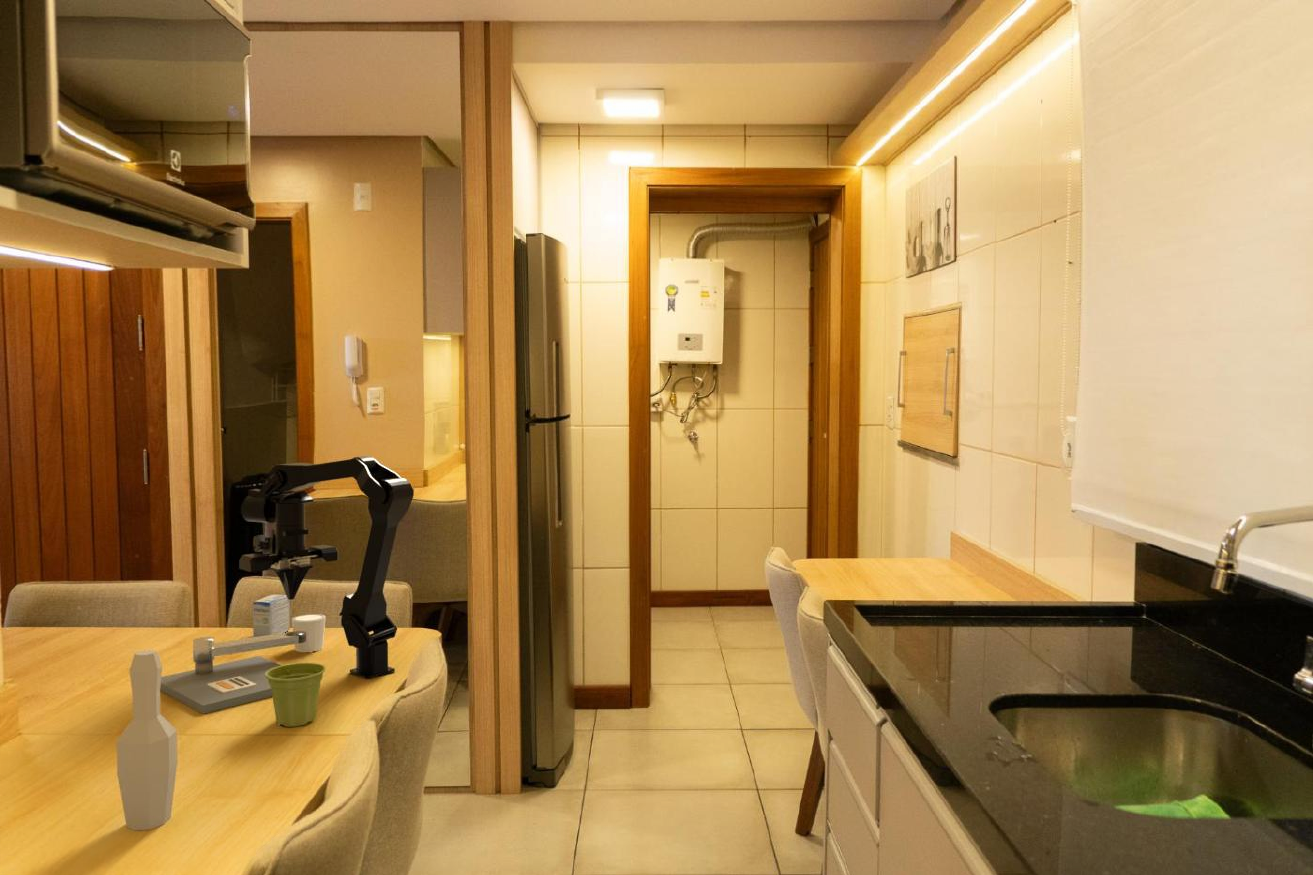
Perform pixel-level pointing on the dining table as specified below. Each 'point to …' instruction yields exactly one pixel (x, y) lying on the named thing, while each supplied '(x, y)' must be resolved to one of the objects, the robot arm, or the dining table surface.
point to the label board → (220, 684)
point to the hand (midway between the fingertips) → (290, 599)
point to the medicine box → (271, 615)
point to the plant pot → (295, 692)
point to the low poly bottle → (147, 750)
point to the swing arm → (242, 645)
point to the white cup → (310, 631)
